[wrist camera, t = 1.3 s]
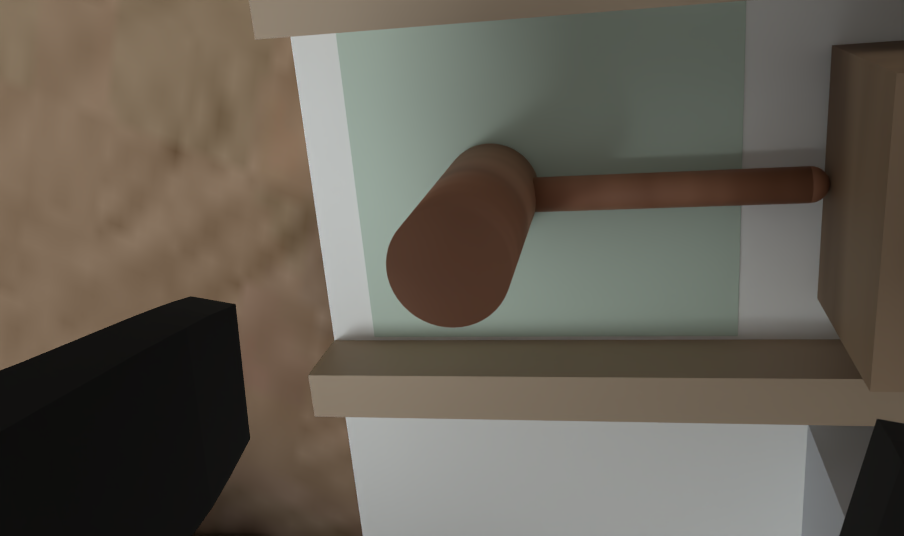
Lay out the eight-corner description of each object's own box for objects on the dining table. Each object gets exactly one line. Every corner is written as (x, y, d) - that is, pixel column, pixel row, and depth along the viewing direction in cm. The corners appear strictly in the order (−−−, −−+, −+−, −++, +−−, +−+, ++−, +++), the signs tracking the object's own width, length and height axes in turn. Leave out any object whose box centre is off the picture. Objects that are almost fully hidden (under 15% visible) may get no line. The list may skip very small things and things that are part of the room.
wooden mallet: (454, 302, 19) (402, 409, 14) (433, 72, 17) (367, 113, 13) (1157, 294, 16) (1361, 424, 12) (1212, 19, 14) (1473, 48, 10)
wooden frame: (399, 683, 25) (358, 818, 21) (285, -149, 18) (189, -178, 14) (1100, 741, 21) (1208, 918, 17) (1320, -280, 14) (1590, -371, 10)
